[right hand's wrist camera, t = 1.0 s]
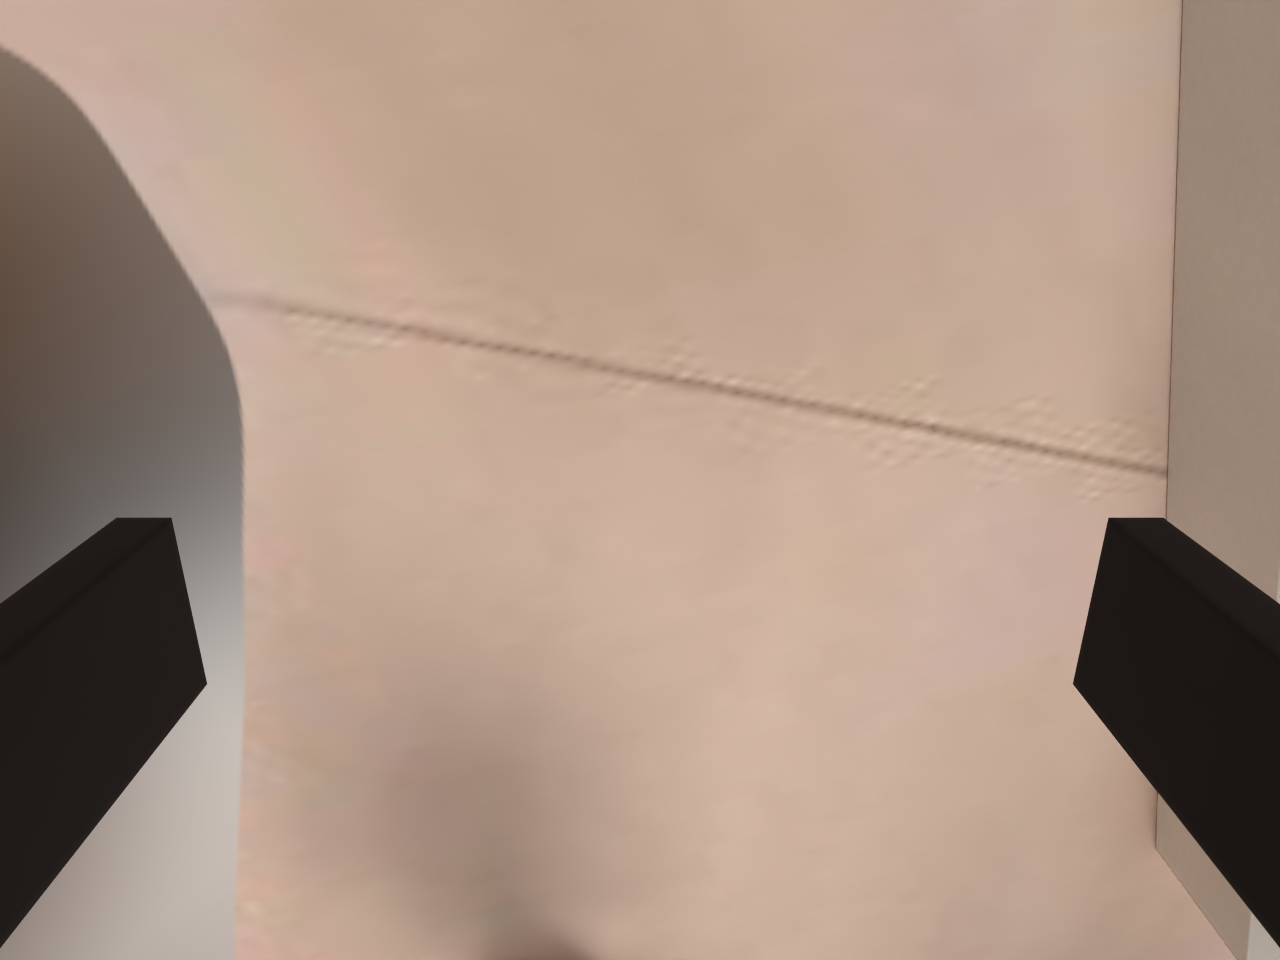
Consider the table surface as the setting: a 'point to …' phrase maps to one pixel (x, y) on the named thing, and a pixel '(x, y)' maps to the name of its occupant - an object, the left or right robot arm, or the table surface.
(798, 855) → the table surface
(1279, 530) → the beam
